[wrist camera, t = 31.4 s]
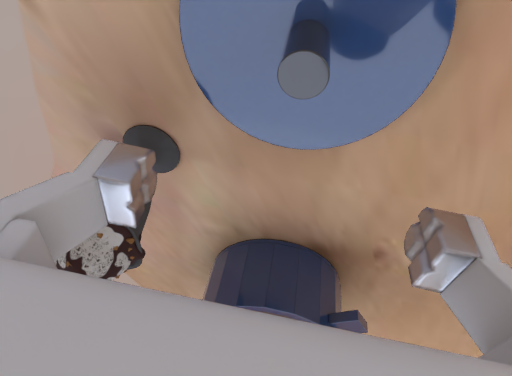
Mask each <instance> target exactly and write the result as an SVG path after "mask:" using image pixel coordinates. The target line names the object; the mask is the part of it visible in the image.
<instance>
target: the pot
mask: <svg viewBox="0 0 512 376" xmlns="http://www.w3.org/2000/svg"><path fill="white" fill-rule="evenodd" d="M202 300H206V301H210V302H215V303H220V304H224V305H229V306H234V307H239V308H243V309H248V310H253V311H262V312H269V313H274V314H278V315H283V316H287V317H291V318H293V319H296V320H300V321H305V322H309V323H314V324H319V325H324V326H328V327H333V328H338V329H343V330H347V331H352V332H357V333H367V332H368V330H367V322H366V321H365V319H364V318H363V317H362V315H361V314H360V313H359V311H358V310H353V311H345V312H341V285H340V282H339V277H338V274H337V272H336V270H335V269H334V267H333V266H332V265H331V264H330V263H329V262H328V261H327V260H326V259H325V258H324V257H322V256H321V255H319V254H318V253H316V252H314V251H312V250H310V249H308V248H305V247H303V246H300V245H297V244H294V243H290V242H286V241H279V240H270V239H256V240H248V241H243V242H239V243H236V244H233V245H231V246H229V247H227V248H226V249H224V250H223V251H222V252H221V253H220V254H219V255H218V256H217V257H216V259H215V261H214V264H213V267H212V269H211V272H210V276H209V279H208V282H207V286H206V289H205V292H204V296H203V299H202Z"/></svg>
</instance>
